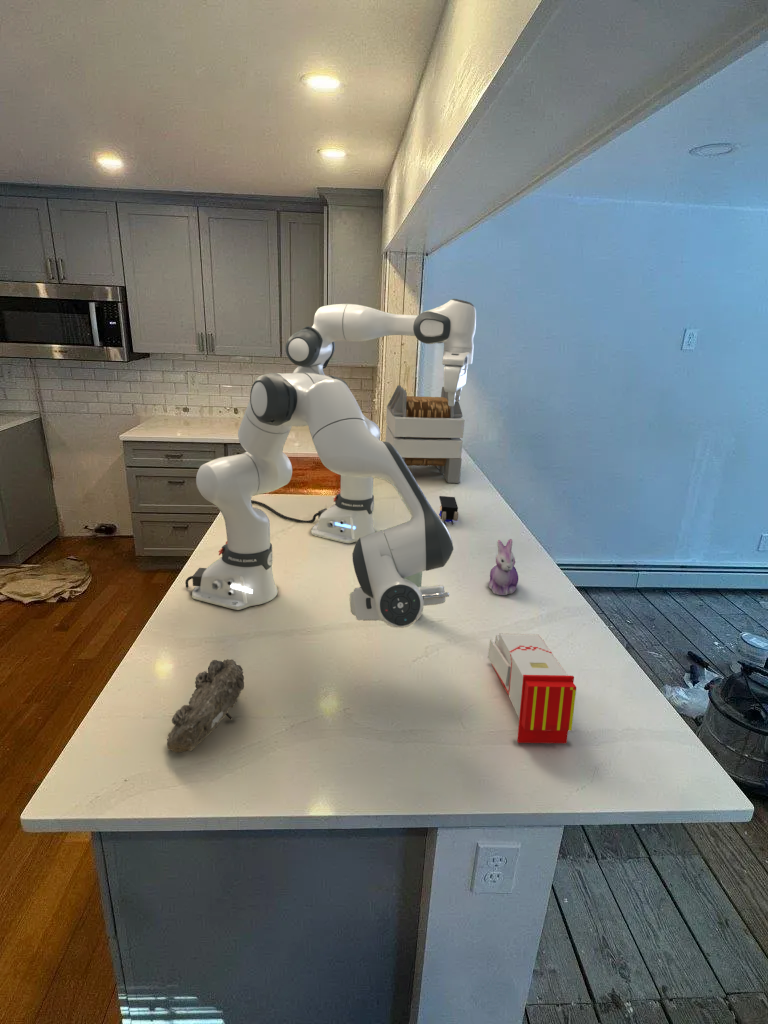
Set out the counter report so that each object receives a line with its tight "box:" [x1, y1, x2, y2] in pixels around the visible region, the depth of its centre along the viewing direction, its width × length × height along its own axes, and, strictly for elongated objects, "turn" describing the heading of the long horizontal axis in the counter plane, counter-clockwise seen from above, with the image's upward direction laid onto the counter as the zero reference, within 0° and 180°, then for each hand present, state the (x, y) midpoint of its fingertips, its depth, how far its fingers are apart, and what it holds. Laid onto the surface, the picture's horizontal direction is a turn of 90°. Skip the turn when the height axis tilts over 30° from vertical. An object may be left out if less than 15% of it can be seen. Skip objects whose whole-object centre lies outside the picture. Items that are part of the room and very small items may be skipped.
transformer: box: [384, 384, 465, 484], centre depth 268 cm, size 34×33×41 cm
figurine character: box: [438, 495, 459, 526], centre depth 214 cm, size 7×8×15 cm
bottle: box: [404, 571, 423, 587], centre depth 144 cm, size 5×5×20 cm
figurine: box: [488, 538, 519, 596], centre depth 161 cm, size 9×10×15 cm
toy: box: [487, 632, 577, 744], centre depth 116 cm, size 12×13×30 cm
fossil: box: [166, 658, 245, 754], centre depth 106 cm, size 22×10×15 cm
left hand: (396, 596), depth 125 cm, fingers open, 8 cm apart
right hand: (454, 403), depth 174 cm, fingers open, 8 cm apart
